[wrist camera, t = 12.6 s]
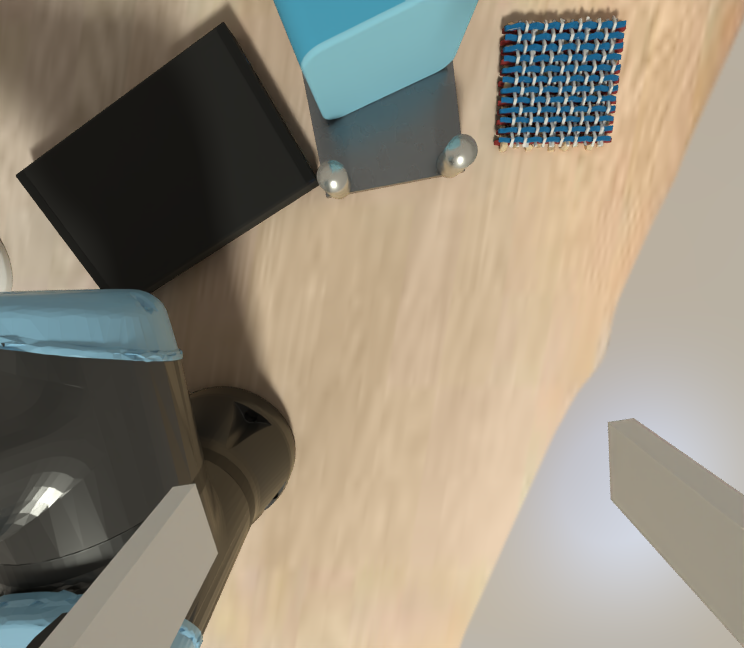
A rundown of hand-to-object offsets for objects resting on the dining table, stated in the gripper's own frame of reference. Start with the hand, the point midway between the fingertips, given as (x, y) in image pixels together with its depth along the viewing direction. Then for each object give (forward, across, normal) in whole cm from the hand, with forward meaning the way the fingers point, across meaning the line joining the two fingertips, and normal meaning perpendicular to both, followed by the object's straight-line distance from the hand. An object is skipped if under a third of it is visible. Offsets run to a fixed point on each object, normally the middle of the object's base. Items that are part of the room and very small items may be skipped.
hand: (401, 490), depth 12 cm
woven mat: (+28, +18, +18) cm, 38 cm away
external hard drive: (+27, -17, +16) cm, 36 cm away
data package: (+26, +3, +22) cm, 34 cm away
